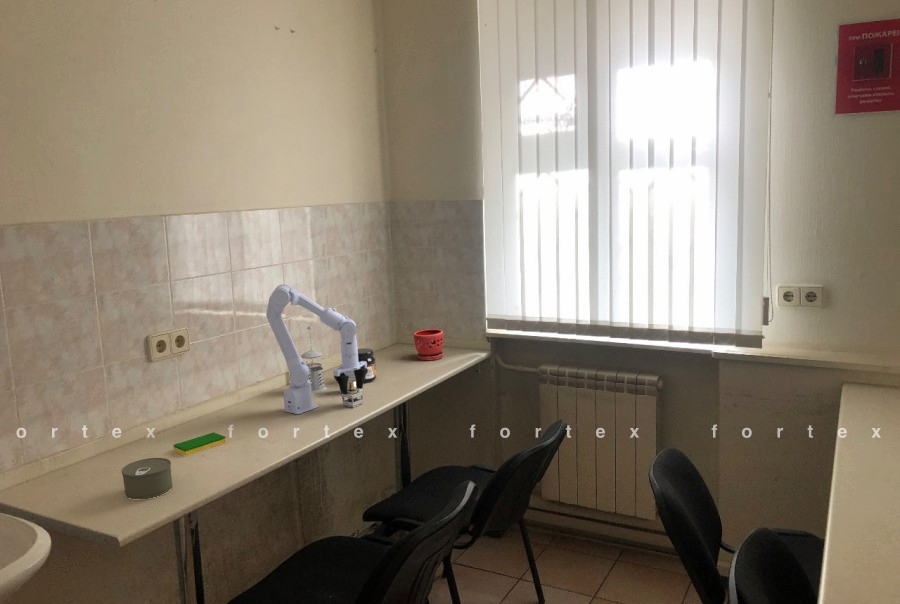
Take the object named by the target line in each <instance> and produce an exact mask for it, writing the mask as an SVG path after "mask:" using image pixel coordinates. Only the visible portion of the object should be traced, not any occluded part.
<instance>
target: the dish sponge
mask: <svg viewBox="0 0 900 604" xmlns="http://www.w3.org/2000/svg"><path fill="white" fill-rule="evenodd" d="M226 443H227V438H226V436H225V435H223V434H220V433H216V432H210V433H206V434H204V435H201V436H197V437H193V438H191V439H188V440H185V441H181V442H177V443H176V444H173V445H172V446H173V452H174V451H176V452H175V453H177V452H178V453H177V454H179V453H180V454H179V455H181V454H183V455H182V456H184V455H185V456H184V457H187V456H186V455H188V456H190V454H191V455H193V453H194V454H197V453H199V451H200V452H202V450H203V451H205V449H206V450H209V449H211V447H212V448H214V447H217V446H220V445H224V444H226ZM208 448H209V449H208ZM196 452H197V453H196Z"/></svg>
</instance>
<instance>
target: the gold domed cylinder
mask: <svg viewBox="0 0 900 604" xmlns="http://www.w3.org/2000/svg"><path fill="white" fill-rule="evenodd" d="M356 393H357V387H356V381H354V380H351V381H348V394H350V395H354V394H356ZM357 398H358V397H356V398H353V401H354V402H356V401H357ZM347 399H349V402H352V398H347Z"/></svg>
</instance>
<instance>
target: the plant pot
mask: <svg viewBox="0 0 900 604" xmlns="http://www.w3.org/2000/svg"><path fill="white" fill-rule="evenodd" d="M444 338H445V336H444V331H443V330H442V329H439V328H429V329H422V330H421V329H420V330H417V331H415V332H414V333H413V341H414V345H415V349H416V351H417V352H418V353H417V357H418V358H419V360H422V361H429V360H430V361H433V360H434V361H435V360H438V359H439V360H440V359H441V358H443V356H444V355H445V353H444V351H443V349H444V343H445V342H444V341H445V340H444Z"/></svg>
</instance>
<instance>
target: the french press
mask: <svg viewBox="0 0 900 604" xmlns="http://www.w3.org/2000/svg"><path fill="white" fill-rule="evenodd" d="M306 328H307V330H313V326H311V325H309V326H307V327H306ZM311 334H312V333H309V339H310V343H312V337H311ZM322 355H323V353H322V352H320V351H318V350H312V347H310V350H307V351H305V352H304V353H302V354H301V355H300V357H301V358H302V359H306V361H305V364H306V365H307V366H308V367H309V370H310V373H309V376H308V379H309V381H311V390H312V394H319V392H320V393H323V392H326V391H327V390H328V388H327V387H326V386H325V377H324V376H325V375H324V367H322V365H323V363H320V362H313V359H316V358H317V359H318V358H320V357H322ZM307 359H308V360H311V361H310V363H308V361H307ZM325 390H326V391H325Z"/></svg>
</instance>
